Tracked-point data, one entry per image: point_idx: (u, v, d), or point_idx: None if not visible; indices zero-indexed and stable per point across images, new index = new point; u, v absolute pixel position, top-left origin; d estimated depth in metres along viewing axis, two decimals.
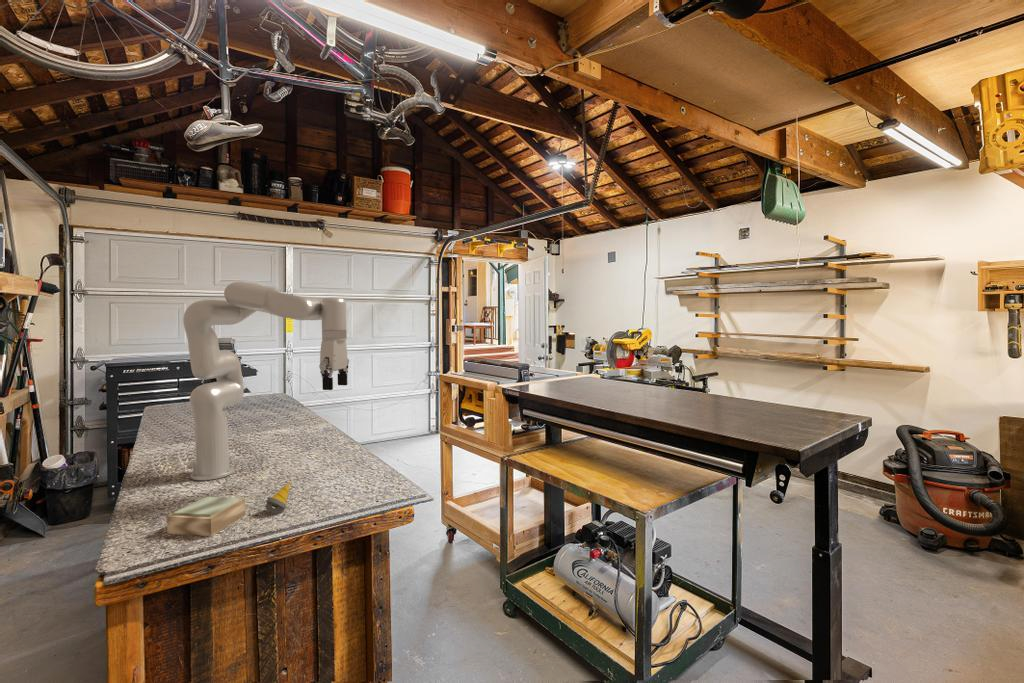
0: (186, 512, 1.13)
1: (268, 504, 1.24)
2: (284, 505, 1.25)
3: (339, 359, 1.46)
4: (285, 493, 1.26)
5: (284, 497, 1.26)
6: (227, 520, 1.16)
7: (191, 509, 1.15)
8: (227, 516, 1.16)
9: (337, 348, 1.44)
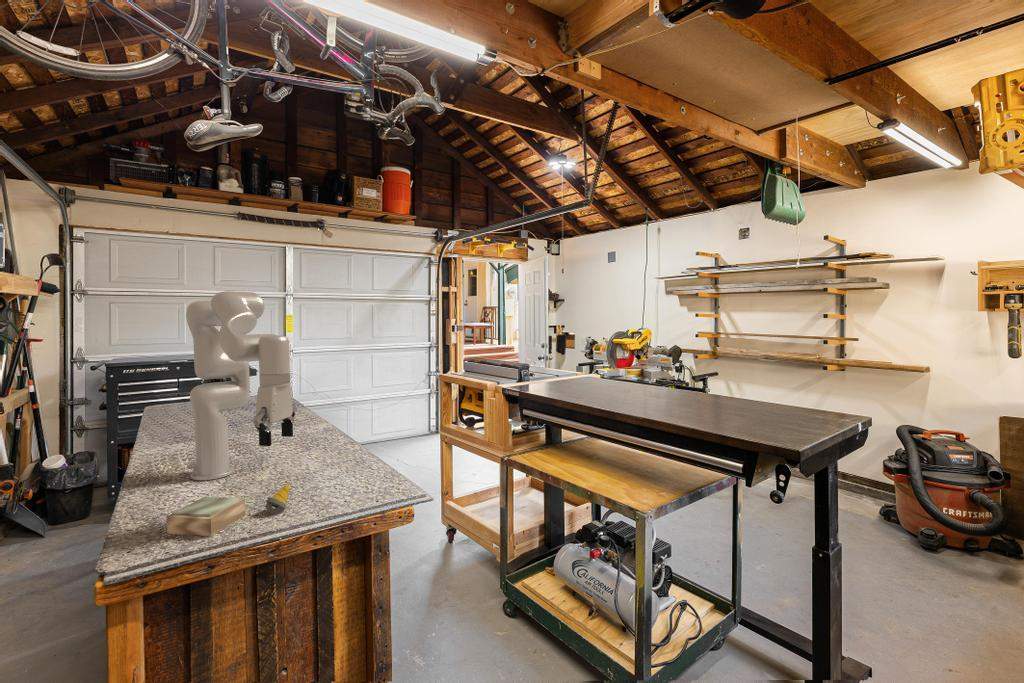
0: (186, 512, 1.13)
1: (268, 504, 1.24)
2: (284, 505, 1.25)
3: (280, 408, 1.23)
4: (285, 493, 1.26)
5: (284, 497, 1.26)
6: (227, 520, 1.16)
7: (191, 509, 1.15)
8: (227, 516, 1.16)
9: (276, 395, 1.21)
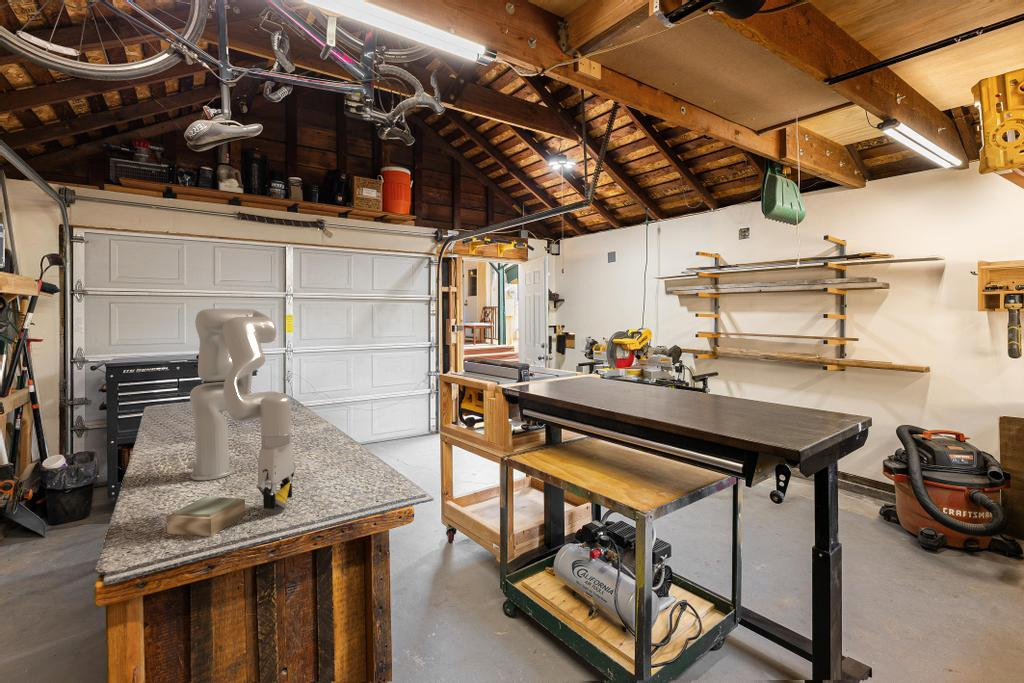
0: (186, 512, 1.13)
1: None
2: (284, 505, 1.25)
3: (281, 469, 1.24)
4: (285, 493, 1.26)
5: (284, 497, 1.26)
6: (227, 520, 1.16)
7: (191, 509, 1.15)
8: (227, 516, 1.16)
9: (278, 457, 1.22)
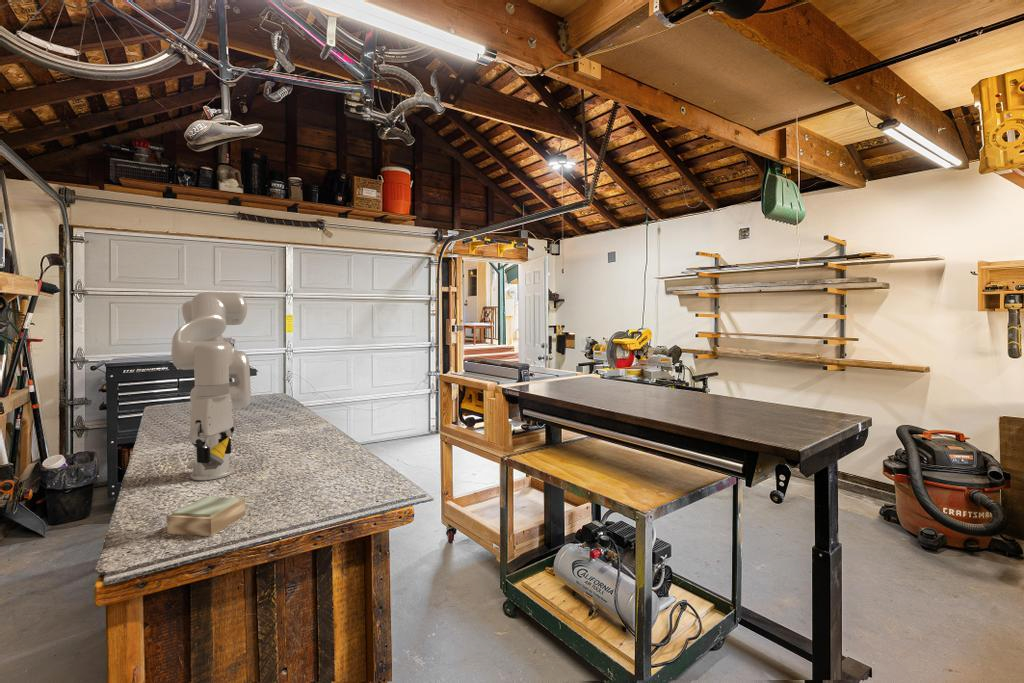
0: (186, 512, 1.13)
1: None
2: (221, 460, 1.16)
3: (217, 421, 1.16)
4: (222, 448, 1.18)
5: (221, 452, 1.17)
6: (227, 520, 1.16)
7: (191, 509, 1.15)
8: (227, 516, 1.16)
9: (213, 408, 1.14)
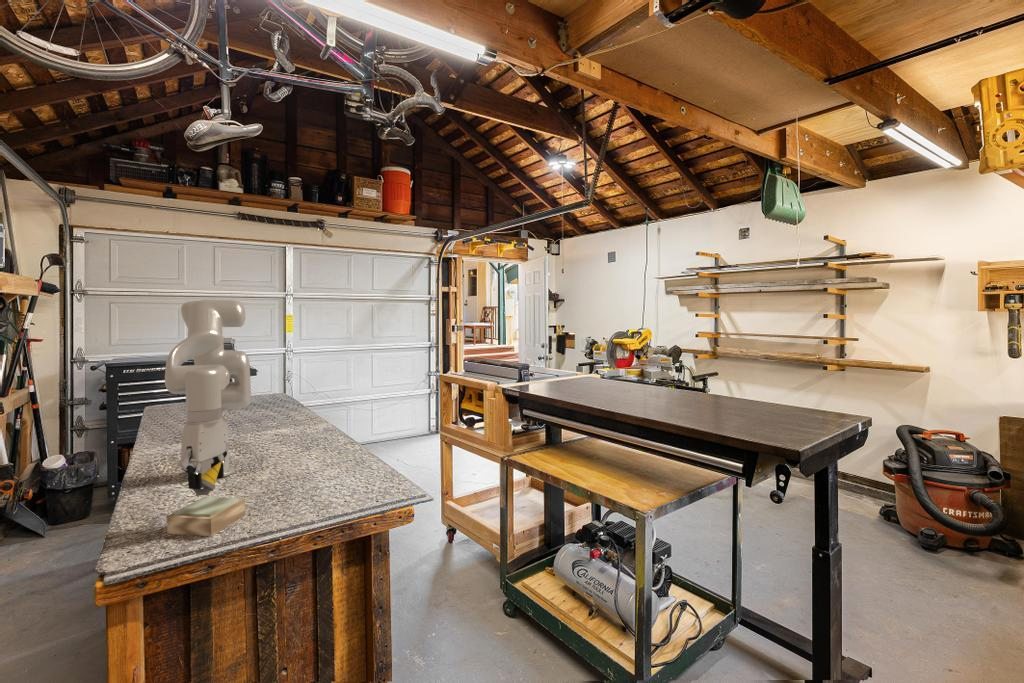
0: (186, 512, 1.13)
1: None
2: (212, 485, 1.15)
3: (209, 446, 1.15)
4: (214, 473, 1.17)
5: (213, 477, 1.17)
6: (227, 520, 1.16)
7: (191, 509, 1.15)
8: (227, 516, 1.16)
9: (204, 433, 1.13)
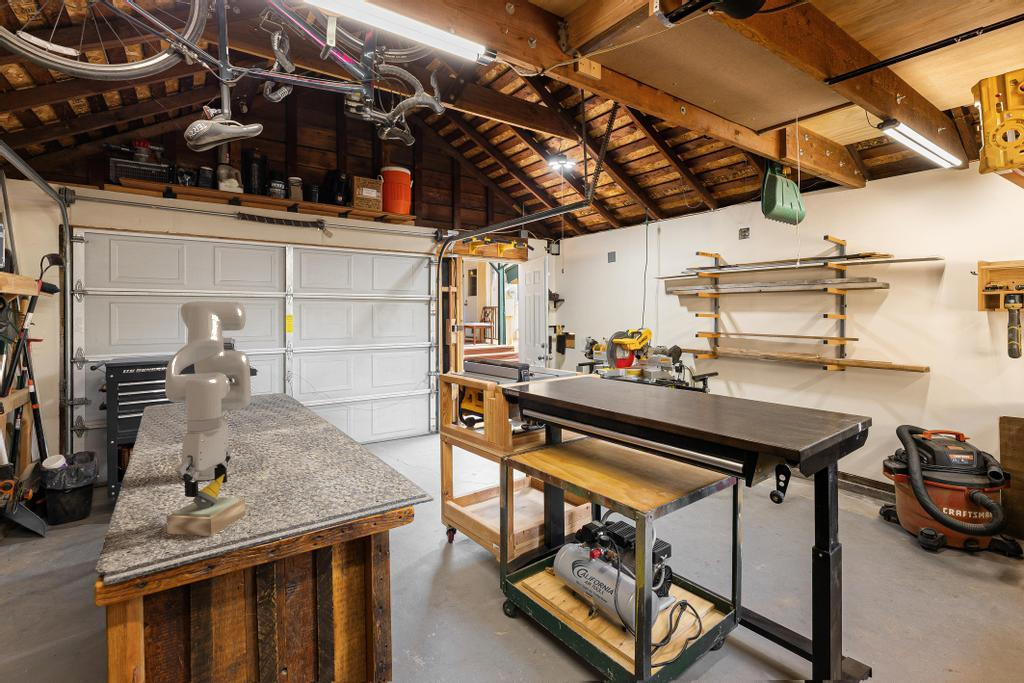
0: (186, 512, 1.13)
1: (197, 497, 1.16)
2: (213, 499, 1.16)
3: (209, 455, 1.15)
4: (216, 486, 1.18)
5: (214, 490, 1.17)
6: (227, 520, 1.16)
7: (191, 509, 1.15)
8: (227, 516, 1.16)
9: (204, 442, 1.14)
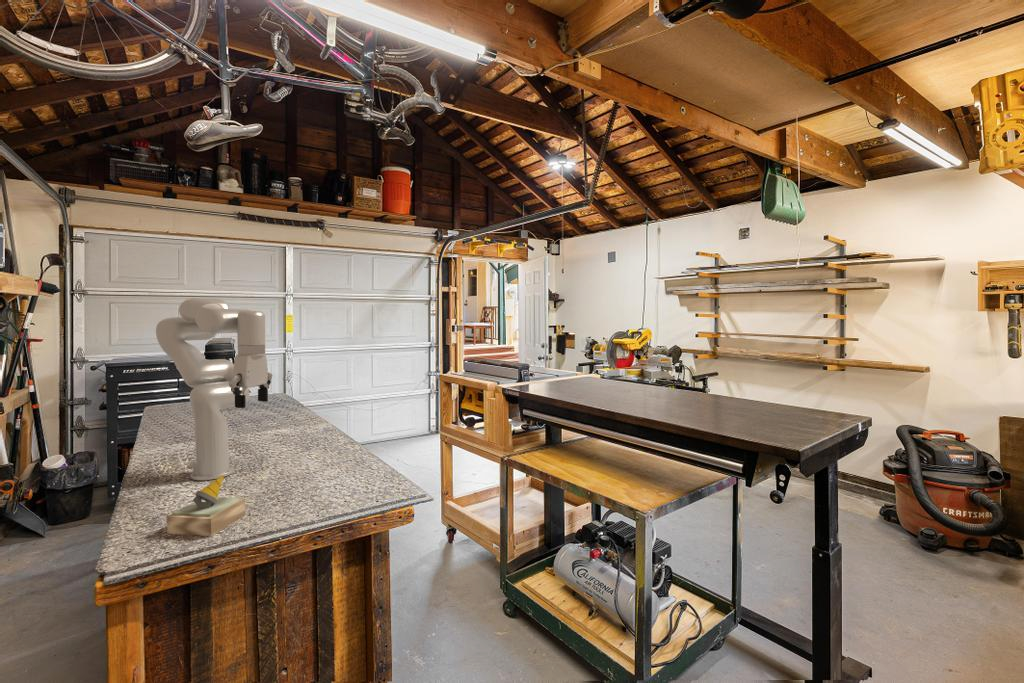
0: (186, 512, 1.13)
1: (197, 497, 1.16)
2: (213, 499, 1.16)
3: (254, 375, 1.39)
4: (216, 486, 1.18)
5: (214, 490, 1.17)
6: (227, 520, 1.16)
7: (191, 509, 1.15)
8: (227, 516, 1.16)
9: (251, 364, 1.37)
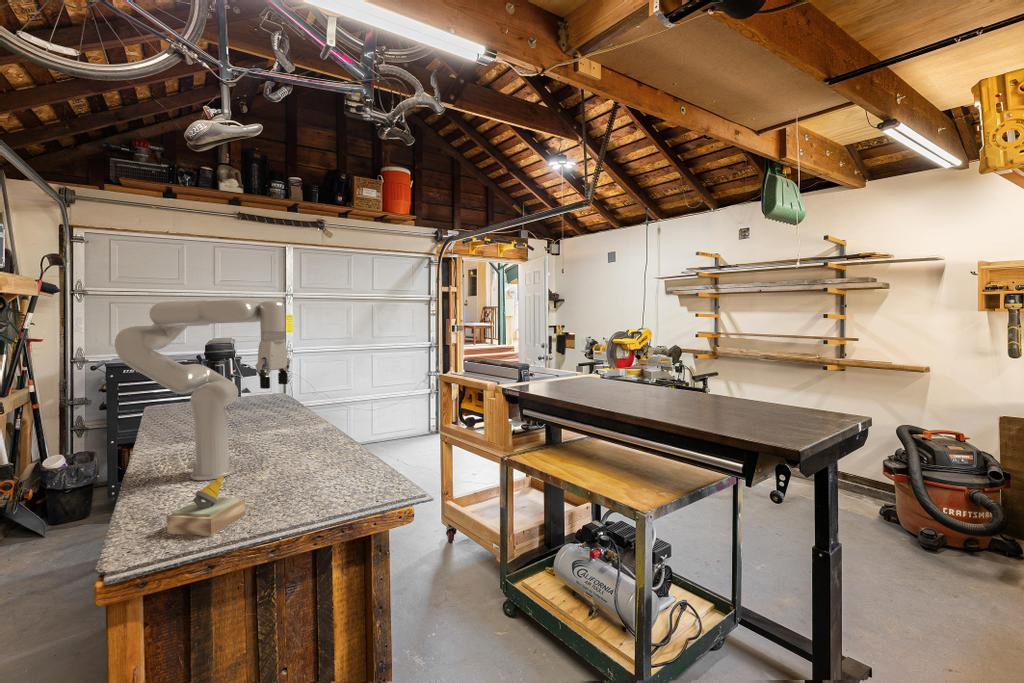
0: (186, 512, 1.13)
1: (197, 497, 1.16)
2: (213, 499, 1.16)
3: (277, 359, 1.53)
4: (216, 486, 1.18)
5: (214, 490, 1.17)
6: (227, 520, 1.16)
7: (191, 509, 1.15)
8: (227, 516, 1.16)
9: (274, 348, 1.52)
